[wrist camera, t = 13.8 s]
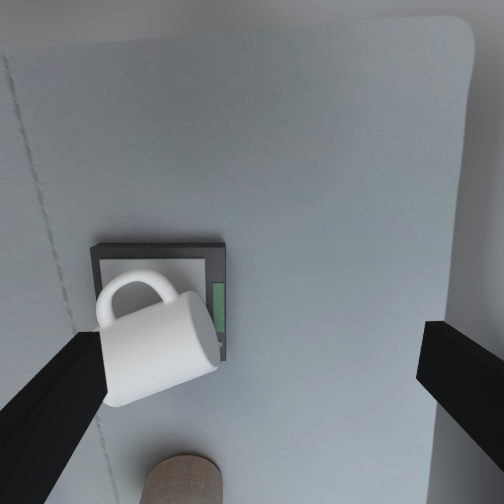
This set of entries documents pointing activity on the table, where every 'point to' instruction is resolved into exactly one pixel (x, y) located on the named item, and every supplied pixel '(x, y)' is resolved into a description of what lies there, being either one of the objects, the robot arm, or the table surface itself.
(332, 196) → the table surface
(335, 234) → the table surface
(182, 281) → the scale
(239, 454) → the table surface
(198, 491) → the planter
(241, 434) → the table surface
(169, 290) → the mug
